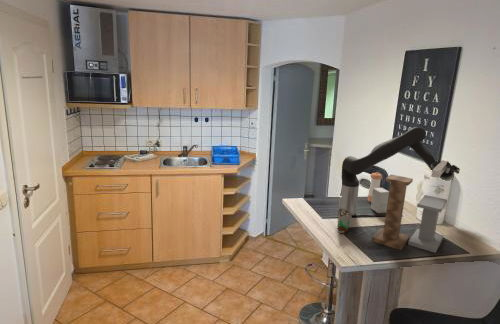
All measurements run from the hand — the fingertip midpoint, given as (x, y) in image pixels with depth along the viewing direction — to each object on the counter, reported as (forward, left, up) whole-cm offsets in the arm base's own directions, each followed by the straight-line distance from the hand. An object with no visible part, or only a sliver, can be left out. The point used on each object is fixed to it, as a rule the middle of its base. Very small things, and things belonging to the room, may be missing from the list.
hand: (443, 163), depth 170 cm
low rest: (0, -13, -38) cm, 40 cm away
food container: (-36, -28, -38) cm, 59 cm away
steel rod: (0, -7, -3) cm, 7 cm away
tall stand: (-14, -23, -38) cm, 46 cm away
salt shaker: (-39, +26, -38) cm, 60 cm away
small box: (-31, +12, -38) cm, 51 cm away
